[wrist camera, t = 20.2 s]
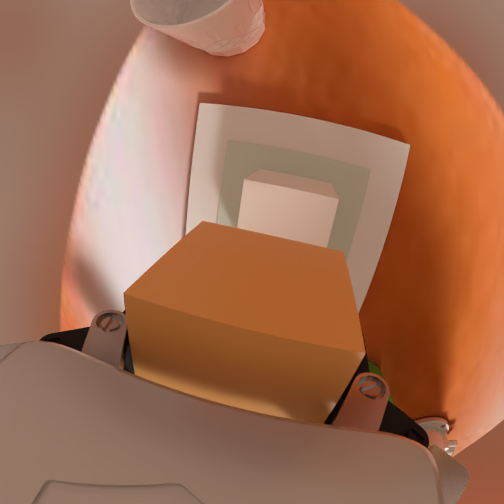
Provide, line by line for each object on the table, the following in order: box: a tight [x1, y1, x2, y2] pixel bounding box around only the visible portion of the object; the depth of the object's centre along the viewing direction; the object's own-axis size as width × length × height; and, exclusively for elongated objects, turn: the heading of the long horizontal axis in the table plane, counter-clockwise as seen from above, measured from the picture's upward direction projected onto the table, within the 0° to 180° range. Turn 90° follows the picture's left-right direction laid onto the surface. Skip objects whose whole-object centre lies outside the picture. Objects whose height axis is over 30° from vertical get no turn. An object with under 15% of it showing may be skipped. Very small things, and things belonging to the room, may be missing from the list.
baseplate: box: [186, 103, 410, 314], centre depth 25 cm, size 18×18×1 cm
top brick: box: [124, 221, 366, 424], centre depth 10 cm, size 6×6×6 cm
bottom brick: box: [237, 169, 339, 248], centre depth 22 cm, size 6×8×6 cm
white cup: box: [130, 0, 266, 57], centre depth 15 cm, size 8×8×10 cm
